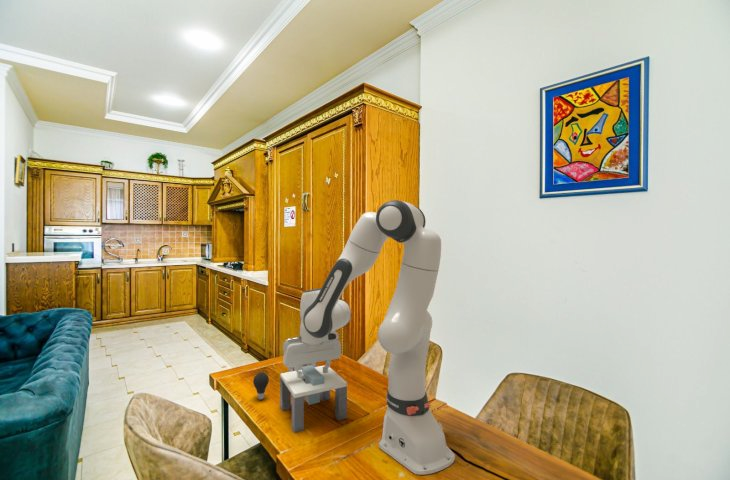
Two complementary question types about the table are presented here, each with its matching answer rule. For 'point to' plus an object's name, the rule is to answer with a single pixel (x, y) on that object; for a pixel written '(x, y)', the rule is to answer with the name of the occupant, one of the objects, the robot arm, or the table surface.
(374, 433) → the table surface
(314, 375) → the peg
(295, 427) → the cutout shelf
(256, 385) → the light bulb
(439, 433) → the robot arm
